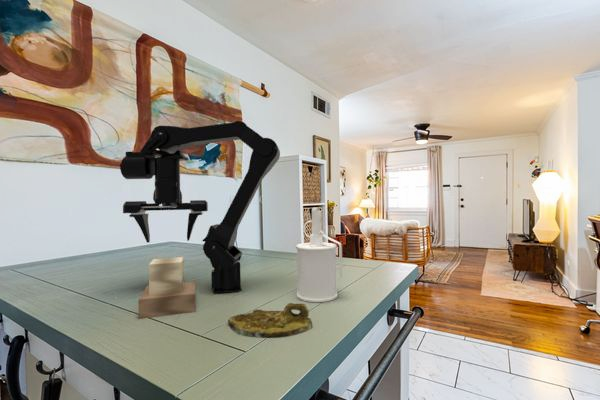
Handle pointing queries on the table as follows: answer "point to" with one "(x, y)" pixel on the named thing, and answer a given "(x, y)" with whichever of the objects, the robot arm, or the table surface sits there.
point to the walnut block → (167, 302)
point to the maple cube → (166, 275)
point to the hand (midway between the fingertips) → (168, 241)
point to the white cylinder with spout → (317, 264)
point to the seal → (272, 322)
